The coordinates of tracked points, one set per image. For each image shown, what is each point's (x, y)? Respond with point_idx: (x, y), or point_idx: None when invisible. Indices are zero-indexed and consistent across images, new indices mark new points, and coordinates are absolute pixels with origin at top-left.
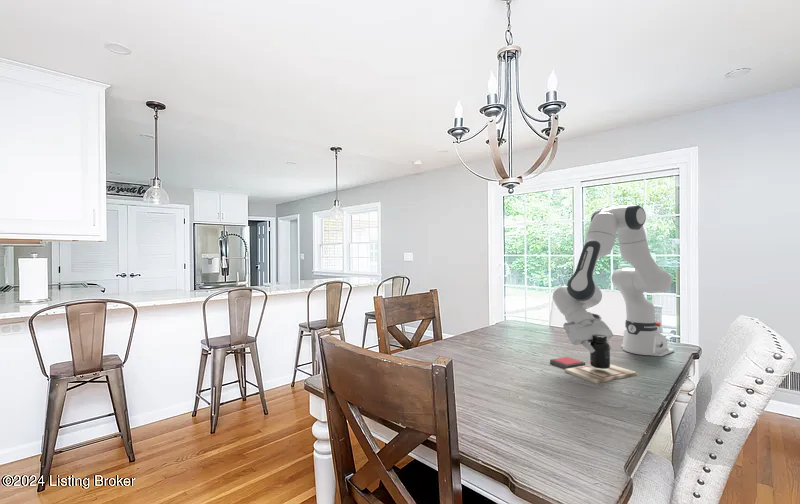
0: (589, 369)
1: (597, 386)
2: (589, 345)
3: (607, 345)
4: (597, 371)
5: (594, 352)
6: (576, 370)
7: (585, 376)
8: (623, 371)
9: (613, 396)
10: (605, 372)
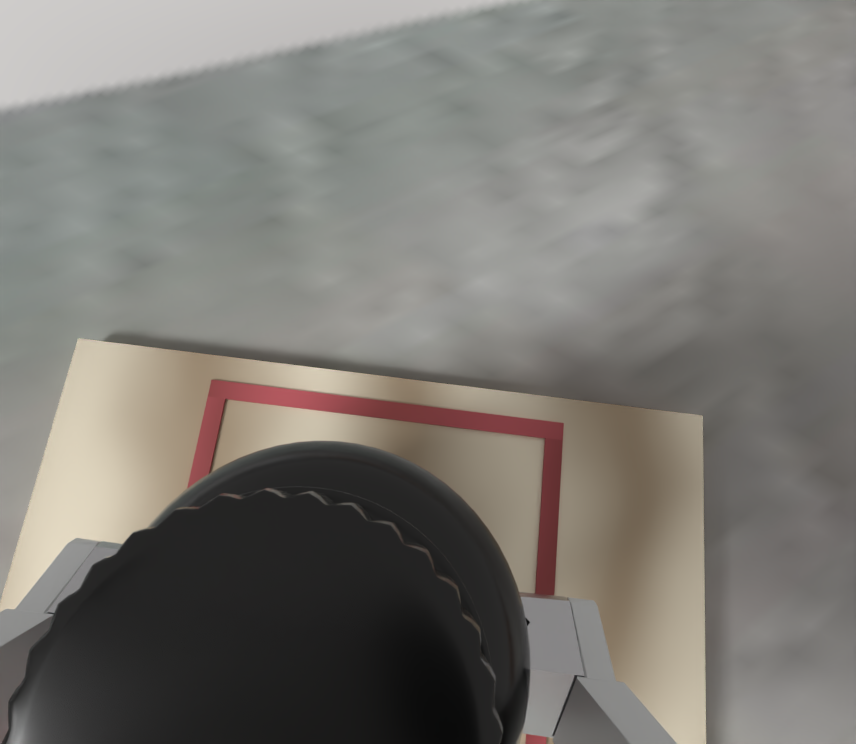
0: None
1: (741, 366)
2: (654, 725)
3: (323, 451)
4: None
5: None
6: None
7: (698, 547)
8: (168, 427)
9: (806, 184)
10: None
